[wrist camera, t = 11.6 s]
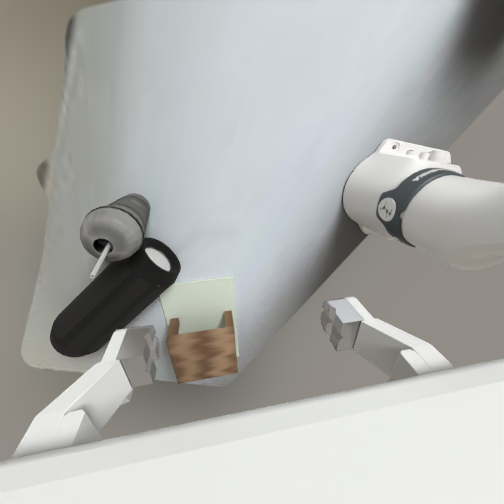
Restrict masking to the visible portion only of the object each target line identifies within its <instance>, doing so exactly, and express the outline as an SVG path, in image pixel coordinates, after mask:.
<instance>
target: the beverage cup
mask: <svg viewBox="0 0 504 504" xmlns="http://www.w3.org/2000/svg"><path fill="white" fill-rule="evenodd" d="M149 212H150V205H149V202H148V201H147V199H146V198H144V197H143V196H141V195H139V194H129V195H127V196H124V197H122V198H120V199H118V200H116V201H115V202H113V203H111V204H109V205H107V206H103V207H99V208H96V209H94V210H92V211H91V212H90V213H88V214H87V215H86V217H85V219H84V221H83V223H82V226H81V228H80V239H81V242H82V244H83V247H84V248H85V249H86V250H87V251H88V253H90V254H91V255H93V256H94V257H96V258H98V261H97V263H96V265H95V266H94V268H93V270H92V272H91V274H90V276H89V277H90V278H95V276H96V274H97V272H98V271H99V269H100V267H101V265H102V263H103V261H120V260H123V259H125V258H128V257H130V256H131V255H132V254H134V253H135V252H136V251H137V250H138V249H140V247H141V245H142V243H143V241H144V229H145V226H146V223H147V219H148V216H149Z"/></svg>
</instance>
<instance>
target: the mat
mask: <svg viewBox="0 0 504 504" xmlns="http://www.w3.org/2000/svg"><path fill="white" fill-rule="evenodd" d="M160 300H161V304H162V307H163V311H164V315H165V318H166V322H167V326H168V329H169V323H170V319H172V318H179V322H180V326H179V334H184V333H191V332H197V331H204V330H211V329H218V328H224V327H226V326H225V317H224V311H230V310H232V317H233V323H234V330H235V342H236V355H237V356H239V350H238V335H237V320H236V306H235V291H234V277H233V276H231V277H222V278H214V279H205V280H196V281H188V282H179V283H173V284H172V285H171V286H170V287H169V288H167V289H166V290H165V291H164V292H163V293H162V294H161V295H160Z"/></svg>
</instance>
